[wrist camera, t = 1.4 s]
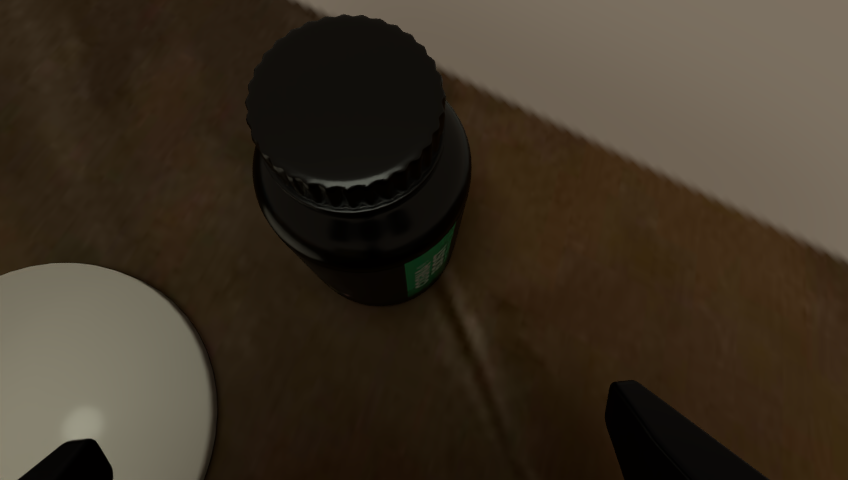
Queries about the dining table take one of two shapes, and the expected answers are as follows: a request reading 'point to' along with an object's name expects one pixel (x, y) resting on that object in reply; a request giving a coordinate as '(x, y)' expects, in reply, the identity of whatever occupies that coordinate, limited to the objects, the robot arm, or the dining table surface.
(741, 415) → the dining table surface
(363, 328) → the dining table surface
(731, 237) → the dining table surface
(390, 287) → the supplement bottle
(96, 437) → the cream plate
